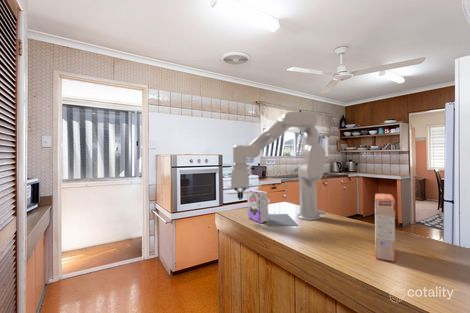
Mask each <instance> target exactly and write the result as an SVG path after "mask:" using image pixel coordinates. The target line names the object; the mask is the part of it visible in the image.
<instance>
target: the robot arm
mask: <svg viewBox="0 0 470 313" xmlns="http://www.w3.org/2000/svg"><path fill="white" fill-rule="evenodd" d="M318 119H319V118H318V116H317V115H316V114H315V113H313V112H308V111H307V112H306V111H287V112H285V113H283V114H281V116H279V117H278V118H277V119H276V120H275V121H274V122H272V124H270V125H269V126H268V127H267V128H266V129H265V130H264V131H263V132H261V134H260V135H258V136H257V137H256V138H255V139H254V140H253V141H251V143H249V145H242V144H241V145H240V144H239V145H238V144H237V145H236V144H235V145H234V146H233V147H232V166H233V167H232V169H231V175H230V184H231V186H230V189H231V190H234V191H236V192H237V199H238V200H240V201H241V200H243V198H244V192H245V191H247V190H249V189H250V176H249V169H247V168H250V165H249V164H247V158H250V159H251V158H252V159H254V158H258V157H259V156H260V155H261V151H262V150H264V149H265V148H266V147H267V146H269V145H271V144H272V143H275V141H277V140H278V139H279V138H280V137H281V136H282V135H284V134H285V132H287V131H288V130H289V129H290V128H298V129H299V131H301V133H302V136H303V143H302V150H301V157H302V158H303V159H304V161H307V163H304V164H301V165H300V166H299V168H298V170H297V174H298V184H299V213H298V214H297V218H298V219H301V220H306V221H315V220H319V219H320V218H321V215H326V211H325V210H318V203H317V202H318V198H317V197H318V195H317V190H318V189H317V182H316V181H320V180H321V179H322V178H323V175H324V172H325V166H326V165H325V163H326V151H325V148H324V146H322V145H321V144H319V136H320V135H319V131H318V129H317V128H316V126H317V124H318V121H319V120H318ZM240 188H241V189H240Z"/></svg>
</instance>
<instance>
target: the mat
mask: <svg viewBox="0 0 470 313" xmlns="http://www.w3.org/2000/svg"><path fill="white" fill-rule="evenodd" d="M268 221H269V222H264V224H265V225H266V226H267V227H297V226H299V224H298V223H297V222H296V221H295V220H294V219H293V218H292V217H291V216H290V215H289V214H288V213H277V214H276V213H271V214H270V213H268Z"/></svg>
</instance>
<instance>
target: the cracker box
mask: <svg viewBox="0 0 470 313" xmlns="http://www.w3.org/2000/svg"><path fill="white" fill-rule="evenodd" d="M374 200H375V201H374V241H375V242H374V244H375V245H374V246H375V259H376V260H377V259H378V260H382V261H387V262H393V263H395V262H396V214H395V213H396V207H395V206H396V204H395V203H396V202H395V198H394V195H393V194H390V193H375V197H374Z"/></svg>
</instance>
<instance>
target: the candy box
mask: <svg viewBox="0 0 470 313" xmlns="http://www.w3.org/2000/svg"><path fill="white" fill-rule="evenodd" d="M246 198H247V215H248V216H247V217H248V219H250V220H252V221H254V222H257V223H258V224H265V222H269V221H268V214H269V202H268V200H269V199H268V192H267V191H263V190H262V191H261V190H257V189H250V190H249V189H246Z"/></svg>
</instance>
